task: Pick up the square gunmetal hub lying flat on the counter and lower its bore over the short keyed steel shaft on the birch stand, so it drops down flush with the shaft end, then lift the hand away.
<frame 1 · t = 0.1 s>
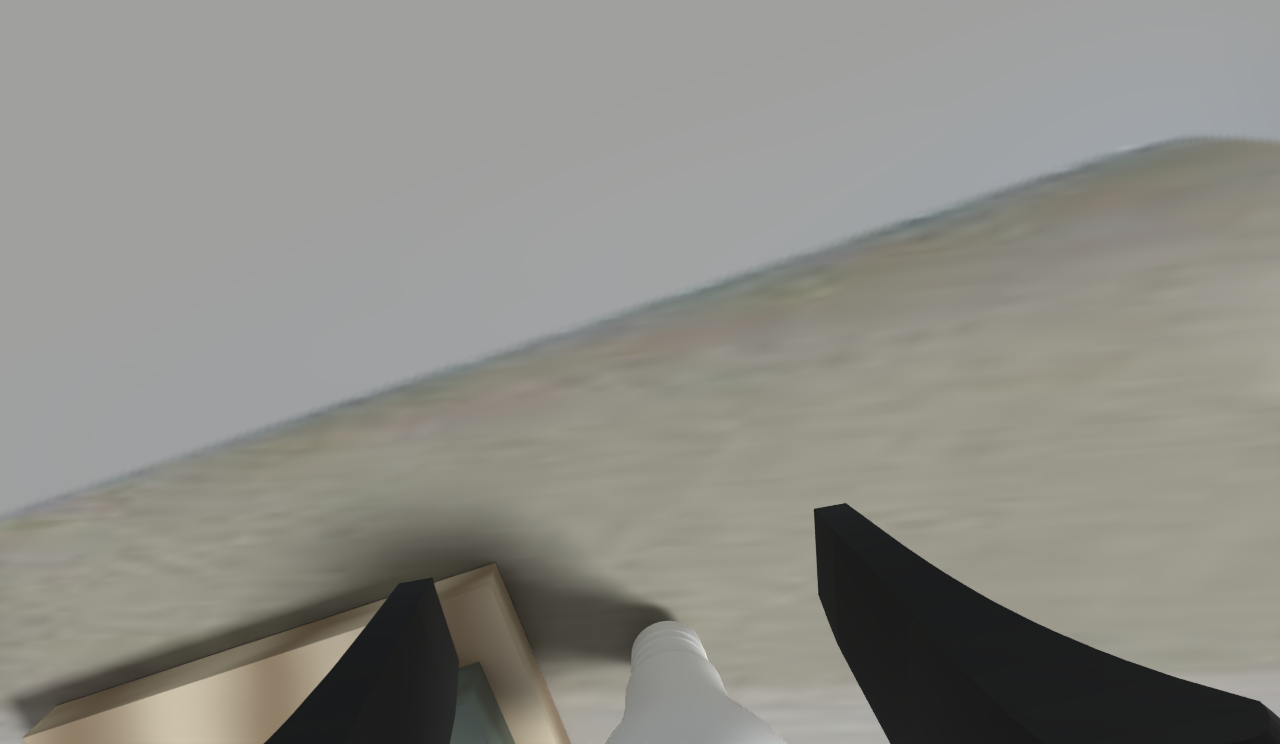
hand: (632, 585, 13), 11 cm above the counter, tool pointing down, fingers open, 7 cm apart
lightbulb: (663, 635, 26), on the counter
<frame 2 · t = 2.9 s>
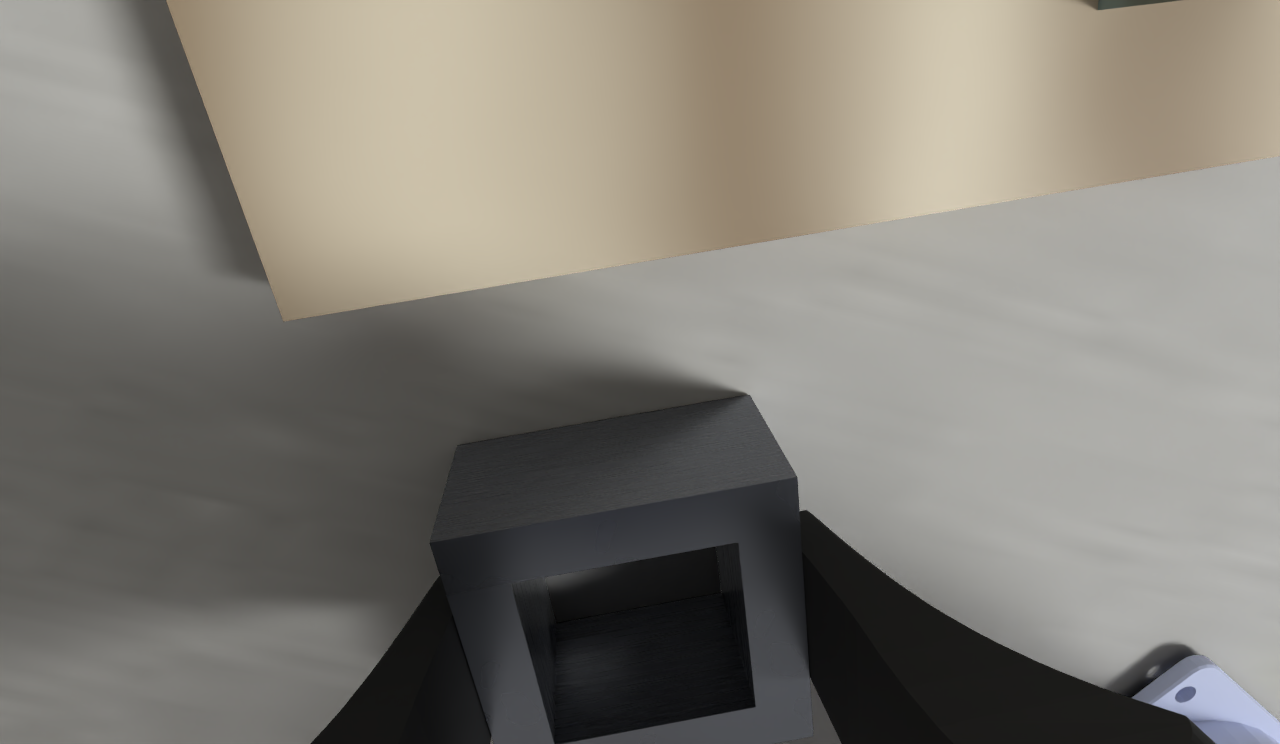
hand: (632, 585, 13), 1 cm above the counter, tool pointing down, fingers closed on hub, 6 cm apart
hub: (626, 540, 14), on the counter, touching gripper
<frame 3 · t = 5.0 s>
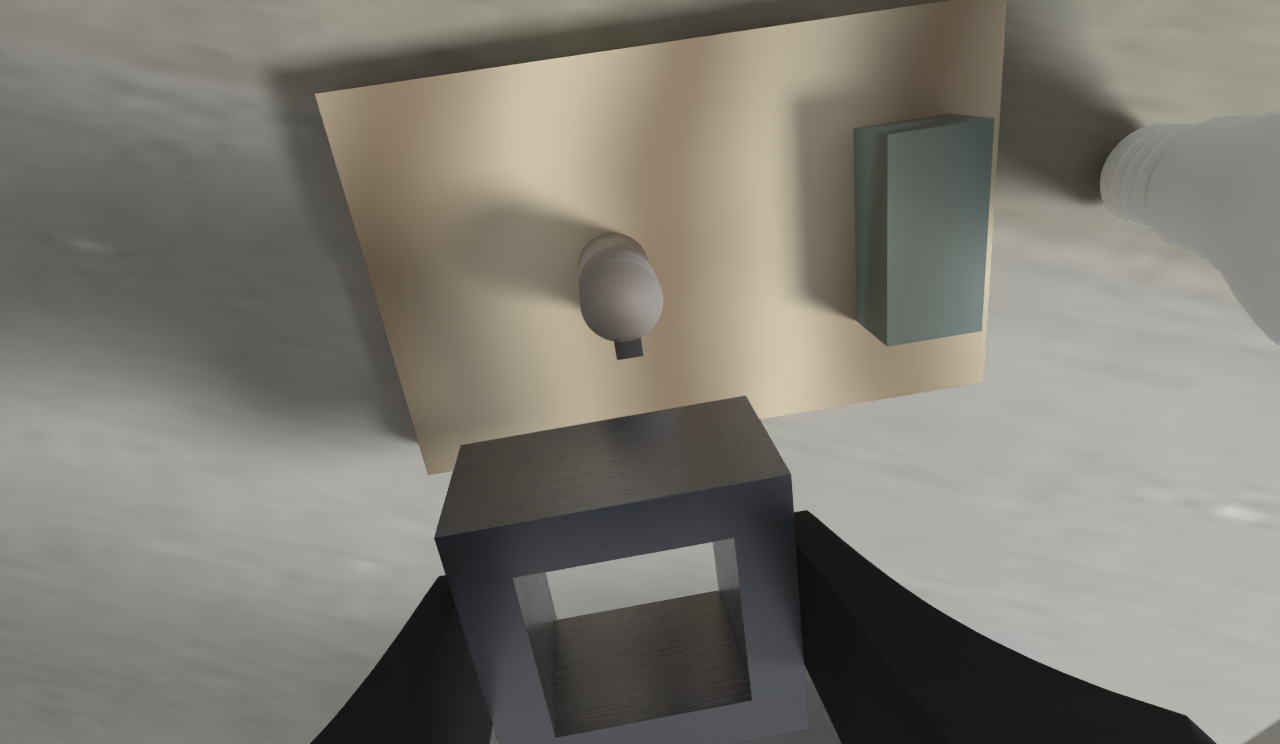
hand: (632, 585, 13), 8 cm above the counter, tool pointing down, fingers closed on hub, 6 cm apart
hub: (625, 538, 15), point 7 cm above the counter, touching gripper
lightbulb: (1118, 168, 20), on the counter
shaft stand: (681, 243, 19), on the counter
when the fingers open (4 cm above the counter, at t = 7.0 s): hub stays where it is, resting on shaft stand.
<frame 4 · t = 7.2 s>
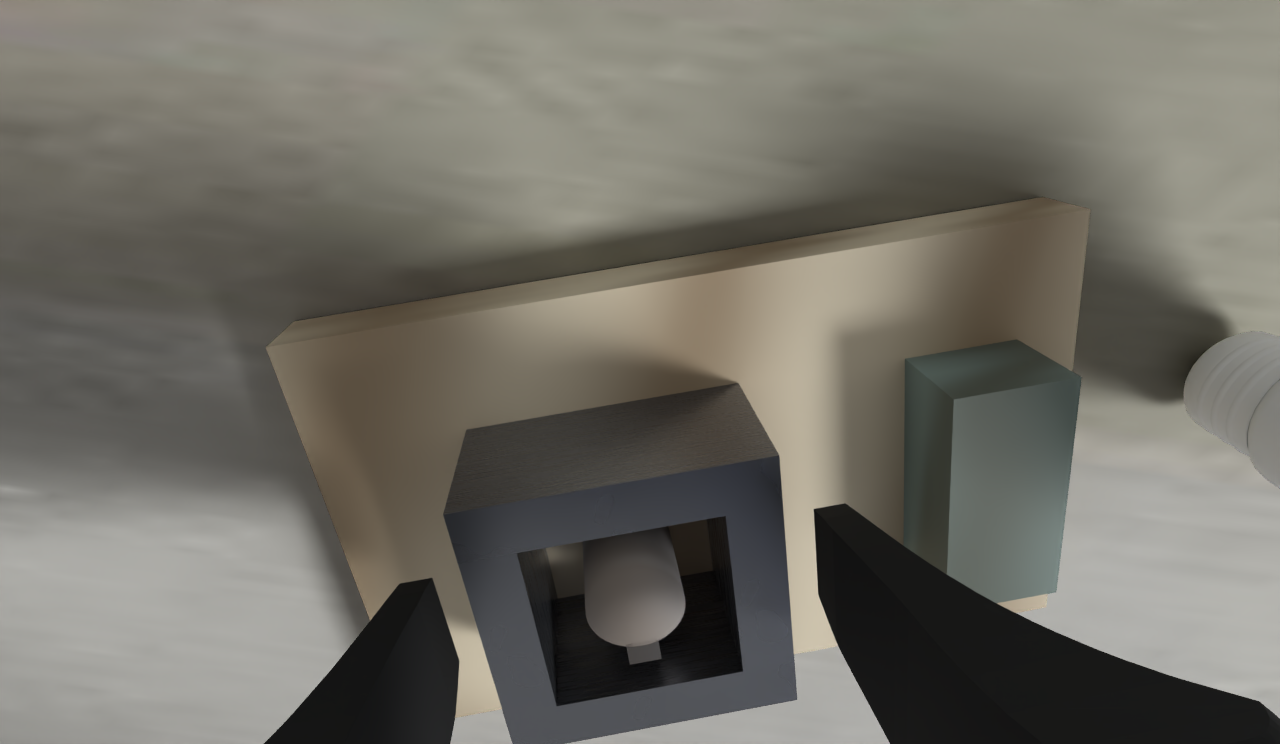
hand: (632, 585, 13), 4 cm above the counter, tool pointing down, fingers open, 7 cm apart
hub: (623, 519, 15), point 1 cm above the counter, touching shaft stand
lightbulb: (1200, 365, 17), on the counter
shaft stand: (700, 461, 17), on the counter
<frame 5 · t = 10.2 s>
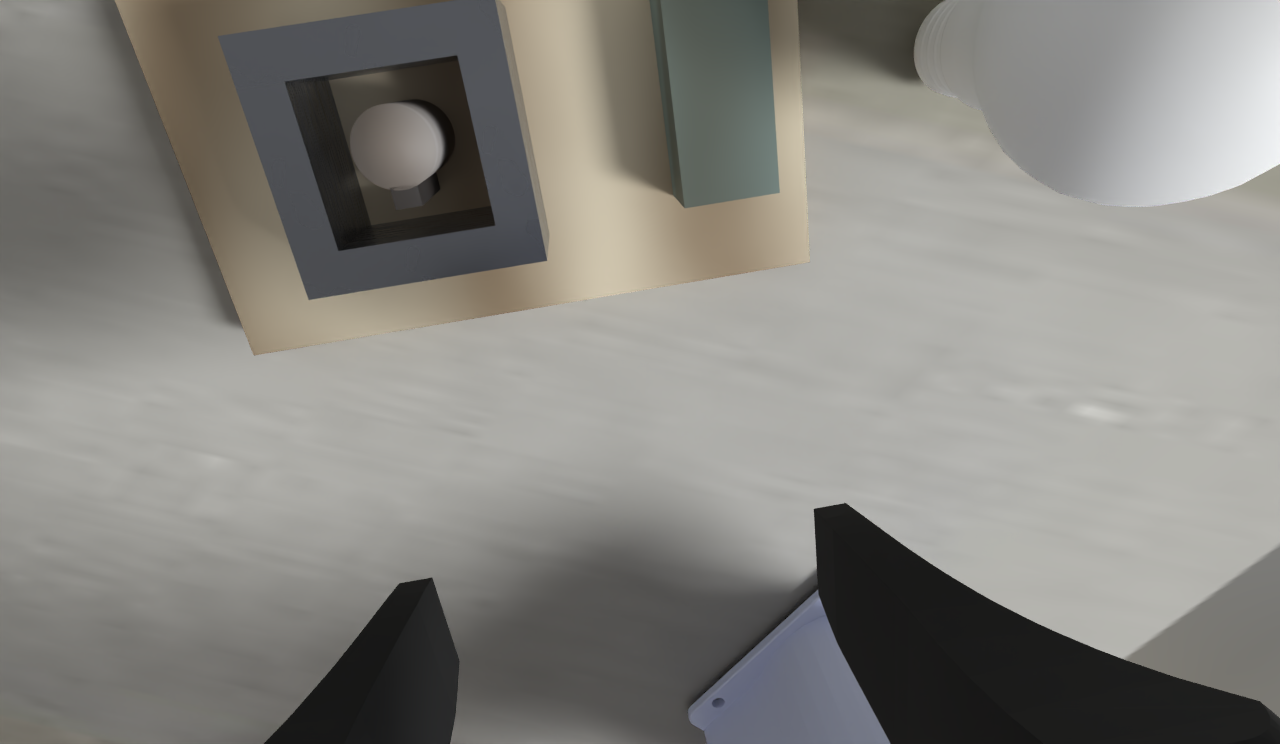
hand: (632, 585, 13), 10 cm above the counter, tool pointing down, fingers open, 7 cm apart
hub: (420, 144, 18), point 1 cm above the counter, touching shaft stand
lightbulb: (940, 47, 20), on the counter
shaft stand: (501, 121, 20), on the counter
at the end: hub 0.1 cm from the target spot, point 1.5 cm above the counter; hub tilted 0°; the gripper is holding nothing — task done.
